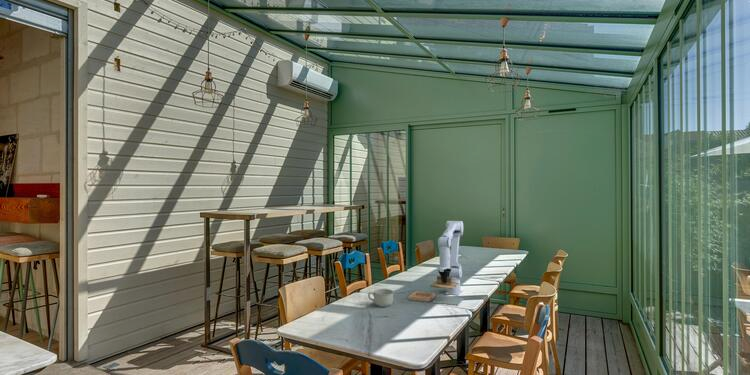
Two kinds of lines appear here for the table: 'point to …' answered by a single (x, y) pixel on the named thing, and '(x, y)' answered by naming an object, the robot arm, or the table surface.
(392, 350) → the table surface
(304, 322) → the table surface
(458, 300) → the rubber mat
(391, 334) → the table surface
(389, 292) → the teacup
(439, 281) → the oak lid
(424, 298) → the terracotta dish
